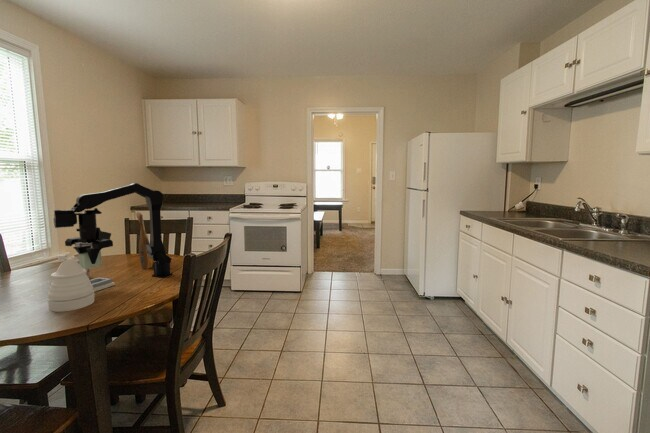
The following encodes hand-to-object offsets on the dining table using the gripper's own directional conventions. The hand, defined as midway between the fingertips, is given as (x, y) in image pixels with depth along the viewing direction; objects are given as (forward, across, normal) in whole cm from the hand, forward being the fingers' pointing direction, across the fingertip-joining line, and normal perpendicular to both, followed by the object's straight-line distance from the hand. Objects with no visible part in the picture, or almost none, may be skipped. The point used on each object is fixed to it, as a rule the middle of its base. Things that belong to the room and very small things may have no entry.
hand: (90, 263), depth 131 cm
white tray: (+10, 0, 0) cm, 10 cm away
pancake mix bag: (+11, +8, -35) cm, 37 cm away
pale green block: (+2, 0, 0) cm, 2 cm away
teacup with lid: (+10, +18, -8) cm, 22 cm away
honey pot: (+10, -10, +15) cm, 21 cm away
